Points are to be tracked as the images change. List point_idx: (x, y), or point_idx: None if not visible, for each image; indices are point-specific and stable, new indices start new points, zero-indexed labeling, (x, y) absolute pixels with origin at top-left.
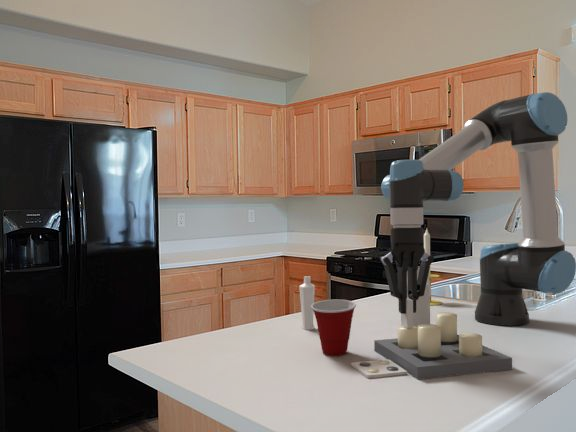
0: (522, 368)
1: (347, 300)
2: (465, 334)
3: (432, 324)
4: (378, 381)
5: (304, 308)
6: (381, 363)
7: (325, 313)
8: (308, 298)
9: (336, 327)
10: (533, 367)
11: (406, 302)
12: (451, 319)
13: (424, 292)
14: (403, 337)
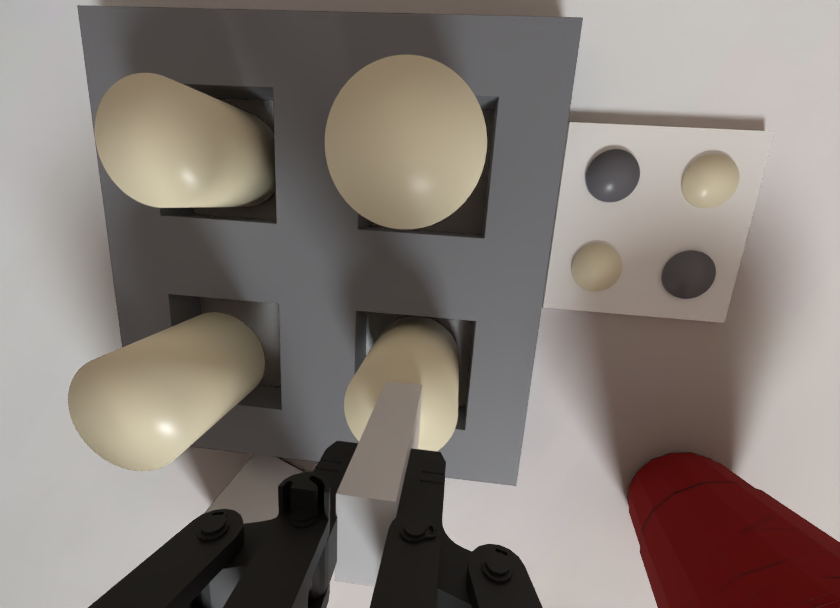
0: (76, 32)
1: None
2: (169, 174)
3: (348, 197)
4: (742, 78)
5: None
6: (617, 255)
7: None
8: None
9: (818, 536)
10: (28, 28)
11: (397, 499)
12: (137, 350)
13: (176, 534)
14: (449, 366)
